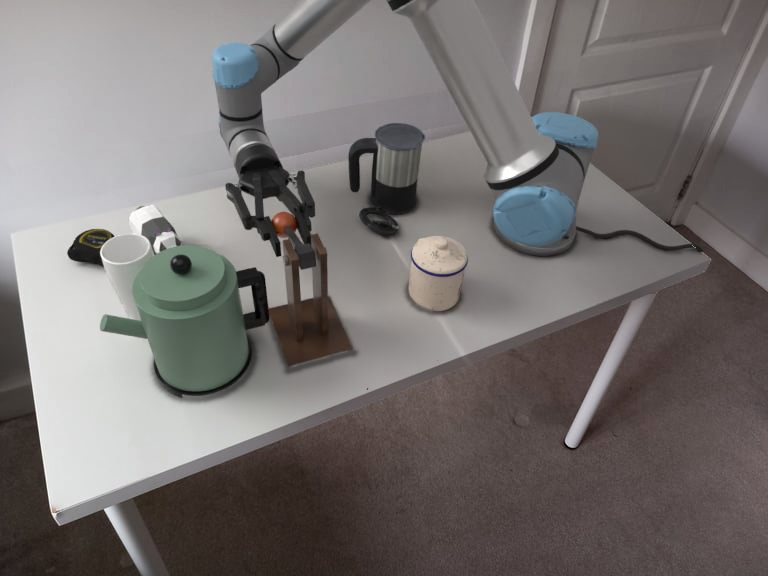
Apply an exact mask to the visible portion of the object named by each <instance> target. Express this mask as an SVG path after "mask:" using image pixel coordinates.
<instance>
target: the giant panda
mask: <svg viewBox="0 0 768 576" xmlns="http://www.w3.org/2000/svg"><path fill="white" fill-rule="evenodd" d="M128 223H129V230H130V233H134V234H139V235H142V236H144V237H146V238H147V239H148V240H149V241H150V244H151V247H152V249H153V252H154V255H156V254H157V253H159V252H161V251H163V250H166V249H169V248H172V247H176V246H182V245H183V243H182V241H181V239H180V237H179V236H178V234H177V231H176V230H175V227H174V226H173V225H172V224H171V223H170V221H168V219H167V218H166V217H165V216H164V214H163V213H162V211H161V210H160V208H158V207H157V206H156V205H155V204H151V205H146V206H145V205H141V206H138V207H137V208H135V210H134V211H132V212H131V213H130V215H129V218H128Z"/></svg>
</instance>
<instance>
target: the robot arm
mask: <svg viewBox="0 0 768 576" xmlns="http://www.w3.org/2000/svg"><path fill="white" fill-rule="evenodd" d="M371 1H372V0H298V1H297V2H296V3H295V4H294V5H293V6H292V7H291V8H290V9H289V10H288V11H287V12H286V13H285V14H284V15H282V16H281V18H280V19H279V20H278V21H277V22H276V23H274V25H272V26H271V27H270V28H269V29H268V30H267V31H266V32H265V33H264V34H263V35H262V36H261V37H259V38H258V39H257V40H255V41H254V42H253V43H252V44H247V43H243V42H227V43H226V44H220V45H219V46H217V47H215V49H214V50H213V51H212V55H211V61H212V69H213V70H212V78H213V81H214V87H215V93H216V99H217V104H218V110H219V112H218V113H219V116H218V121H217V122H218V128H219V133H220V136H221V138H222V140H223V142H224V144H225V146H226V149H227V151H228V155H229V157H230V158H231V161H232V163H233V167H234V169H235V172H236V174H237V177H238V183H235V184H233V183H232V182H227V183H225V185H224V188H225V194H226V198H227V200H229V201H230V202H231V203H232V204H233V205H234V208H235V210H236V212H237V214H238V217H239V219H240V221H241V224H242V227H243V228H244V230H246V231H250V230H252V229H256V231H257V234H259V235H260V238H261V240H262V241H263V242H267V241H269V242H270V245H271V247H272V250H273V252H274V255H275V257H276V258H279V257H282V247H281V245H282V244H281V240H280V239H279V238H280V237H278V236H277V234H276V231H275V229H274V226H273V224H272V222H271V221H272V219H271V216H270V215H266V216H265V210H264V199H269V198H276V199H277V200H278V201H279V202H280V203H282V204H283V206H284V207H285V208H287V210H288V212H289V213H291V214H292V215H293V216H294V217H295V218H296V220H297V230H296V231H297V232H298V234H299V236H300V238H301V240H302V243H303V244H307V243H309V244H310V245H311V234H312V233H311V232H312V230H313V229H312V228H313V227H312V225H313V223H312V221H311V218H315V217H316V201H315V200H314V197H313V195H312V193H311V191H310V189H309V186H308V185H307V181H306V172H305V171H304V170H298V171H297V173H296V174H294V173H293V174H291V173H290V172H288V170H286V169H284V167H283V165H282V162H281V160H280V158H279V156H278V154H277V153H276V150H275V148H274V146H273V144H272V142H271V140H270V139H269V136H268V134H267V132H266V130H265V124H264V113H263V102H262V101H263V100H262V94H263V93H264V92H265V91H266V90H268V89H269V88H270V87H271V86H273V85H274V84H276V82H277V81H278V80H280V79H282V77H284V76H285V75H287V74H288V73H289V72H291V71H292V70H294V69H295V68H296V67H297V66H298V65H299V64H300V62H302V61H303V60H304V59H305V58H306V57H307V56H308V55H309V54H311V53H312V52H313V51H314V50H316V48H318V47H319V46H320V45H321V44H322V43H323V42H325V41H326V40H327V39H328V38H329V37H331V36H332V35H333V34H334V33H335V32H336V31H338V30H339V29H340V28H341V27H342V26H343V25H344V24H346V23H347V22H348V21H350V19H352V18H353V17H354V16H355V15H356V14H357V13H358V12H360V11H361V10H362V9H363V8H364V7H365V6H366V5H368V4H369V3H370V2H371ZM386 2H387V4H388V6H389V8H390V9H391V11H392V13H393V14H396V15H399V16H403V17H406V18H408V20H410V22H411V24H412V25H413V28H414V29H415V32H416V33H417V35H418V37H419V39H420V41H421V43H422V44H423V46H424V47H425V50H426V52H427V54H428V55H429V57H430V59H431V61H432V63H433V65H434V66H435V68H436V70H437V72H438V74H439V76H440V78H441V79H442V82H443V84H444V85H445V87H446V89H447V90H448V92H449V94H450V96H451V98H452V100H453V102H454V103H455V105H456V107H457V109H458V111H459V113H460V115H461V116H462V118H463V120H464V123H465V124H466V126H467V128H468V130H469V131H470V133H471V135H472V137H473V139H474V140H475V142H476V144H477V146H478V148H479V150H480V152H481V154H482V155H483V158H484V159H485V161H486V163H487V164H486V166H485V169H484V172H483V178H484V180H485V182H486V184H487V186H488V187H489V189H490V191H491V194H492V195H493V197H494V198H495V201H494V204H493V208H492V210H493V211H492V212H493V213H492V215H493V227H494V231H495V233H496V235H497V237H498V238H499V239H500V241H502V242H503V243H505V245H507V246H508V247H510V248H512V249H514V250H516V251H518V252H521V253H524V254H527V255H531V256H540V257H545V256H546V257H547V256H554V255H555V256H556V255H559V254H561V253H563V252H565V251H567V250H568V249H569V248H570V247H571V246H572V244H573V242H574V240H575V236H576V234H577V231H578V232H581V233H584V234H587V235H589V236H592V237H594V238H598V239H608V238H613V237H615V236H620V235H631V236H635V237H637V238H639V239H641V240H642V241H644V242H646V243H648V244H649V245H651V246H653V247H655V248H657V249H660V250H664V251H679V250H680V251H681V250H685V249H695V250H697V249H698V250H697V251H698V252H699V253H703V252H704V250H703V248H702V246H700V245H699V244H696V243H685V244H680V245H673V246H672V245H666V244H665V245H664V244H661V243H658V242H657V241H656V240H655V241H654V240H652V239H651V238H649V237H647V236H646V235H645V234H642V233H640V232H638V231H635V230H629V229H620V230H616V231H613V232H610V233H604V234H603V233H598V232H595V231H592V230H590V229H586V228H584V227H581V226H579V225H577V215H576V214H577V212H576V211H577V208H578V206H579V201H580V198H581V194H582V191H583V187H584V183H585V179H586V176H587V173H588V170H589V167H590V164H591V161H592V158H593V154H594V152H595V149H597V147H598V144H597V143H598V139H599V131H598V129H597V127H596V126H595V125H594V124H592V123H591V122H590V121H587V120H586V119H584V118H582V117H579V116H577V115H573V114H569V113H565V112H560V111H559V112H558V111H546V112H545V111H544V112H539V113H537V114H535V115H533V116H531V114H530V112H529V110H528V108H527V106H526V104H525V101H524V100H523V98H522V96H521V93H520V91H519V89H518V88H517V85H516V84H515V83H516V82H515V81H514V79H513V76H512V75H511V73H510V71H509V68H508V66H507V65H506V63H505V60H504V59H503V57H502V55H501V52H500V50H499V48H498V46H497V44H496V42H495V40H494V38H493V35H492V34H491V31H490V30H489V28H488V25H487V23H486V22H485V20H484V17H483V15H482V14H481V12H480V9H479V7H478V5H477V3H476V1H475V0H386ZM290 183H291V184H292V186H293V187H294V189H297V194H298V196H299V198H298V197H297V196H296V195H295V194H294V193H293V192H292V190H291V189H290V188H289V187H288V185H289V184H290ZM242 192H243V193H245V194H248V195H249V196H251V197H253V198H254V212H255V214H254V215H251V212H250V210H249V208H248V205H247V202H246V200H245V198H244V197H243V194H242ZM299 199H300V200H299ZM692 245H693V246H694V247H696V248H694V247H693V246H692Z"/></svg>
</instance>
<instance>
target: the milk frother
mask: <svg viewBox="0 0 768 576" xmlns="http://www.w3.org/2000/svg"><path fill="white" fill-rule="evenodd" d="M426 138H427V137H426V135H425V133H424V132H423V131H422V130H421V129H420V128H419V127H417V126H415V125H411V124H409V123H404V122H403V123H401V122H391V123H390V122H389V123H386V124H383V125H381V126H379V127H378V128H376V130H375V132H374V137H362V138H359V139H357V140H356V141H354V142H353V143H352V144H351V146H350V147H349V150H348V155H347V157H348V158H347V159H348V178H349V179H348V180H349V189H350V191H351V192H352V193H359V191H360V189H361V169H360V167H361V165H360V158H361V156H363V155H365V154H373V155H372V164H371V182H370V183H371V184H370V202H371V205H372V206H369V207H363V208H361V210H360V211H359V213H358V217H359V219H360V220H361V222H362V223H363V225H365V226H367V227H368V229H370V230H372V231H373V232H375V233H377V234H380V235H382V236H387V237H392V236H395V235H397V234H398V232H399V223H398V222H397V220H396V219H395V218H394V217H392V215H402V214H406V213H409V212H411V211H412V210H414V209H415V207H416V206H417V203H418V201H417V199H418V198H417V190H418V189H417V188H418V181H419V171H420V163H421V158H422V149H423V144H424V142H425V139H426ZM369 215H373V216H378V217H379V218H383V219H384V220H381V219H379V220H375V219H372V220H371V219H370V217H368V216H369ZM390 215H391V216H390Z"/></svg>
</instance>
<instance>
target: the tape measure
mask: <svg viewBox="0 0 768 576" xmlns="http://www.w3.org/2000/svg"><path fill="white" fill-rule="evenodd" d="M113 237H115V235H114V234H113V233H112V232H110V231H109V230H107V229H104V228H91V229H88V230H85V231H82V232H81V233H79V234H78V235H77V236H76V237H75V239H74V240H73V242H72V244H71V245H70V246H69V248H68V249H67V252H66V254H67V256H68V258H69V259H70V260H71V261H73V262H77V263H85V264H89V265H90V264H91V265H96V266H100V267H104V265H103V262H102V259H101V255H100V250H101V248H102V246H103V245H104V243H105V242H107V241H108V240H109V239H111V238H113Z"/></svg>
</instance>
